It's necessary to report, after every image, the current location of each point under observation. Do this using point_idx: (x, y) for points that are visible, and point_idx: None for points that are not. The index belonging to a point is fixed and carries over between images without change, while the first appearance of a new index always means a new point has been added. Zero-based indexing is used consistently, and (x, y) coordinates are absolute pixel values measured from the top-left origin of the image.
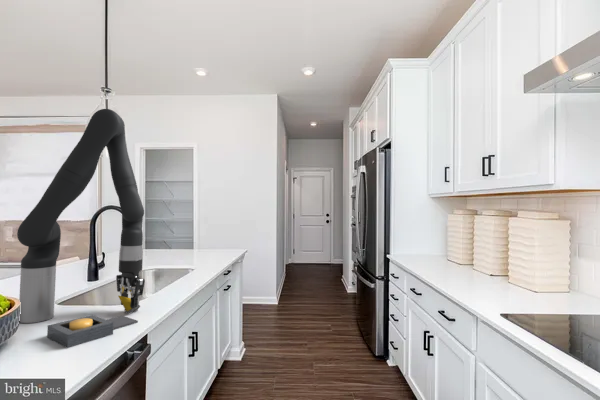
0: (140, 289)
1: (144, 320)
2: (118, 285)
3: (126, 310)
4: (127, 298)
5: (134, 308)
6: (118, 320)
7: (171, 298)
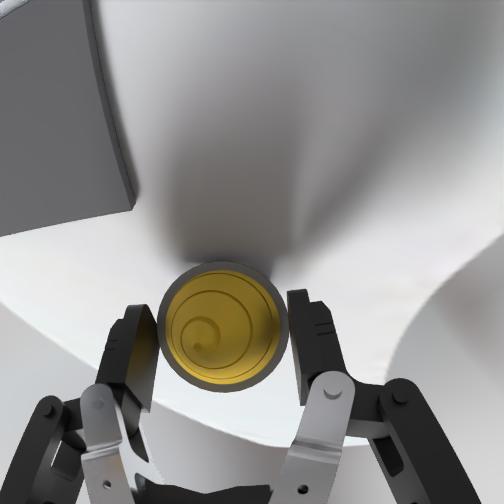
0: (73, 469)
1: (11, 271)
2: (412, 451)
3: (211, 272)
4: (190, 363)
5: (159, 316)
6: (22, 149)
7: None
